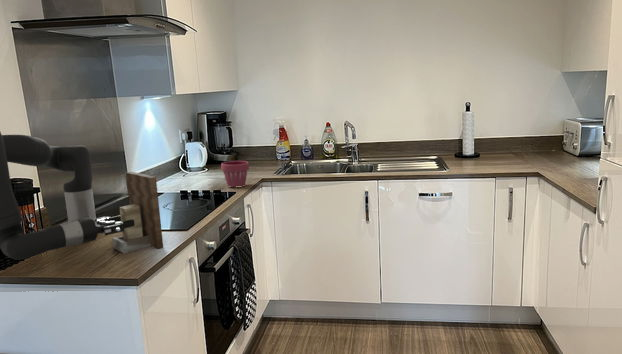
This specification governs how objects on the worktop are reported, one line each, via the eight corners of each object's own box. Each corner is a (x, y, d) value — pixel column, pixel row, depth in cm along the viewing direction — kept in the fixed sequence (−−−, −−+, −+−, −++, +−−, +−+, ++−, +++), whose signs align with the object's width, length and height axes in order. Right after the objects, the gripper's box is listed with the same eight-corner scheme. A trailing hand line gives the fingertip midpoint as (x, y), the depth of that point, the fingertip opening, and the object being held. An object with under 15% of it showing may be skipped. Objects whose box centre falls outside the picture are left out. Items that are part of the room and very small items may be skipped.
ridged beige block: (124, 247, 161) (119, 207, 158) (140, 243, 165) (135, 203, 162) (129, 249, 158) (124, 209, 155) (145, 245, 162) (141, 205, 159)
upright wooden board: (107, 245, 164) (98, 176, 159) (138, 237, 172) (131, 171, 167) (130, 256, 151) (122, 182, 147) (163, 247, 159) (155, 176, 154)
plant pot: (254, 184, 256) (253, 160, 254) (242, 189, 244) (240, 165, 241) (231, 183, 261) (229, 160, 259) (217, 188, 249) (215, 164, 246)
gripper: (84, 224, 142) (136, 212, 153) (67, 216, 152) (117, 206, 163) (87, 248, 143) (139, 235, 155) (70, 239, 153) (120, 227, 164)
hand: (128, 220), depth 159 cm, fingers open, 8 cm apart
